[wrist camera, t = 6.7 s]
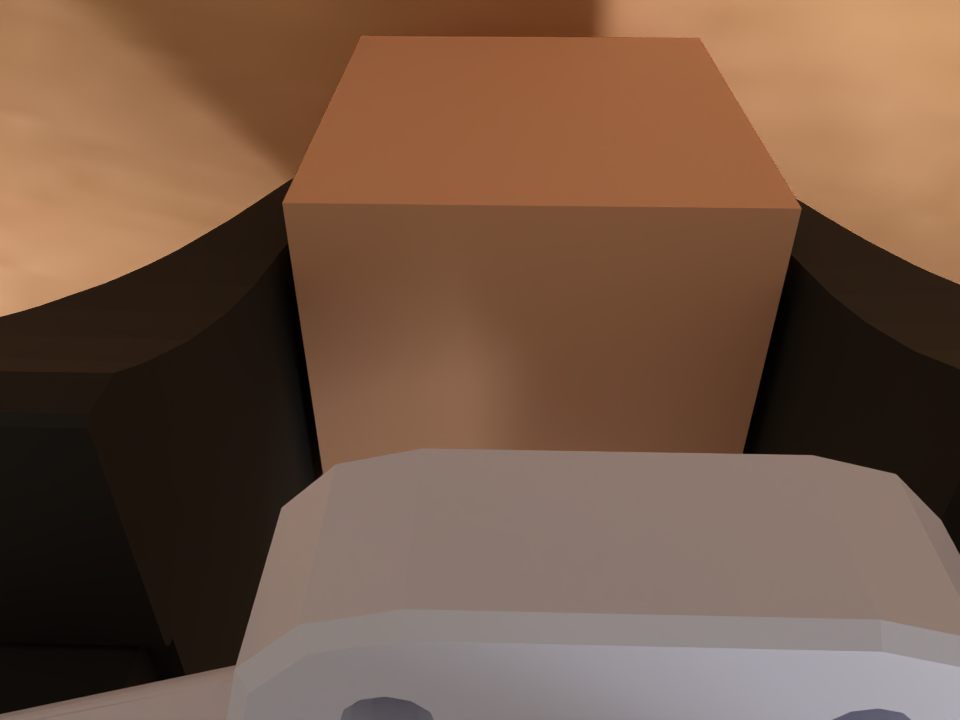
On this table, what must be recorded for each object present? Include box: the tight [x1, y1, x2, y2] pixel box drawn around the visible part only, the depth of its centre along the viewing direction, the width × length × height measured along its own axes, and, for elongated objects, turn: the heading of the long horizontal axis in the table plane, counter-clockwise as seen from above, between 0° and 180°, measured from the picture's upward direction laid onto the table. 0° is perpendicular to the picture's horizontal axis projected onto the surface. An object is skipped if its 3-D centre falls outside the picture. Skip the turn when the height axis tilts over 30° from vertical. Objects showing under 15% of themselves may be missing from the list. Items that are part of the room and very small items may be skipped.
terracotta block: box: [282, 36, 802, 474], centre depth 11 cm, size 4×4×5 cm
